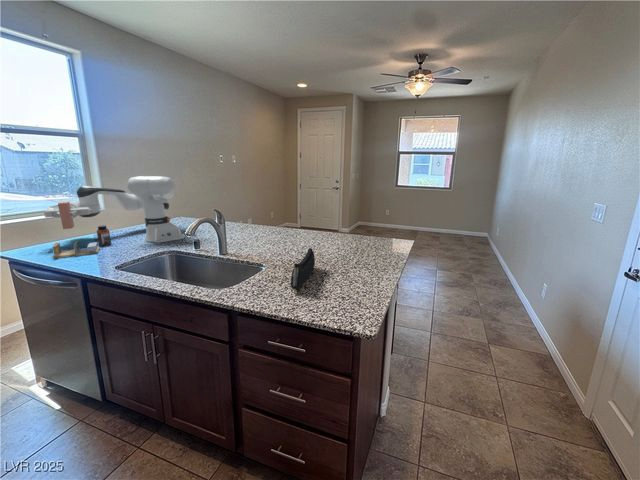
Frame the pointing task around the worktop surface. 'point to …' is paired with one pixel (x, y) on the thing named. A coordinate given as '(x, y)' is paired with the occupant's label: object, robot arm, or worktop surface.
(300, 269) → the magazine
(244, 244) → the worktop surface
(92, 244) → the flat bluegrey book
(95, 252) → the shelf
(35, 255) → the worktop surface
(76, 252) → the bookend
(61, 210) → the boxed book
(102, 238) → the supplement bottle
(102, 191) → the robot arm
